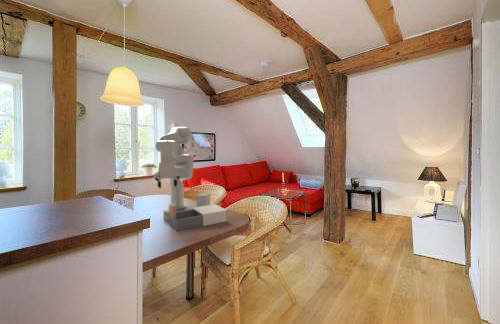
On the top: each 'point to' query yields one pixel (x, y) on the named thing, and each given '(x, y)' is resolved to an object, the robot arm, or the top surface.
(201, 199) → the supplement box
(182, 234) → the top surface
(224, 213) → the white drawer housing
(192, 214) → the tray
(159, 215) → the top surface
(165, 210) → the sage block
